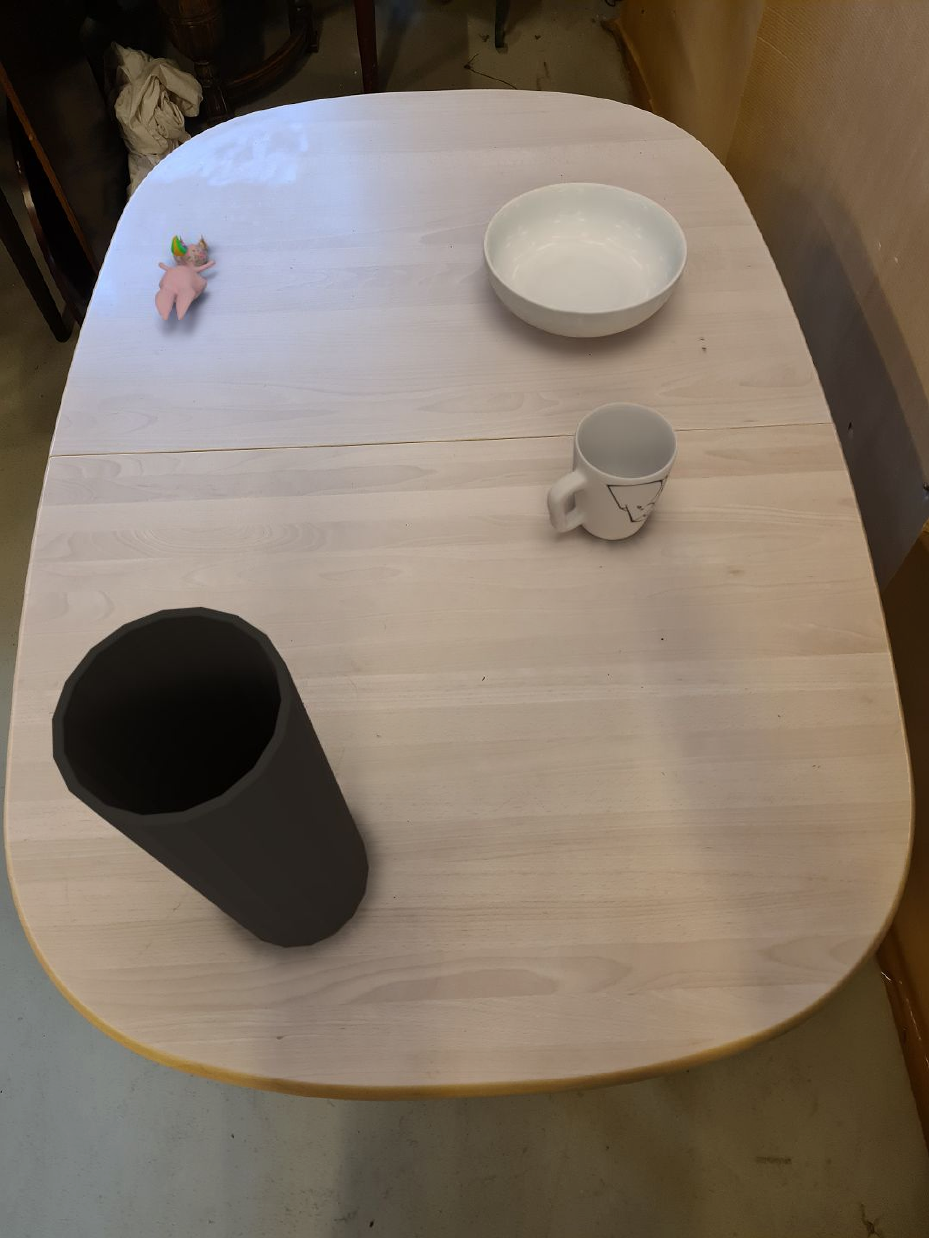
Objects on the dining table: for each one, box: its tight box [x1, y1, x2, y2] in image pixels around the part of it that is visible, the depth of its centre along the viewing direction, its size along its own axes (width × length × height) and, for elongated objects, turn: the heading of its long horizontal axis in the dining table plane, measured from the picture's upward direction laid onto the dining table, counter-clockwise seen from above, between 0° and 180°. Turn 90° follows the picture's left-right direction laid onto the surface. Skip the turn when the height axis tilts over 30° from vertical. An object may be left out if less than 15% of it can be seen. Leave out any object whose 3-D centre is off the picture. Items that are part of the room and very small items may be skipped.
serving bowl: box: [482, 181, 688, 338], centre depth 90 cm, size 21×21×7 cm
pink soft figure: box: [154, 234, 216, 322], centre depth 92 cm, size 6×6×15 cm
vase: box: [51, 606, 370, 948], centre depth 50 cm, size 10×10×30 cm
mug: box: [546, 401, 679, 541], centre depth 74 cm, size 11×8×10 cm
